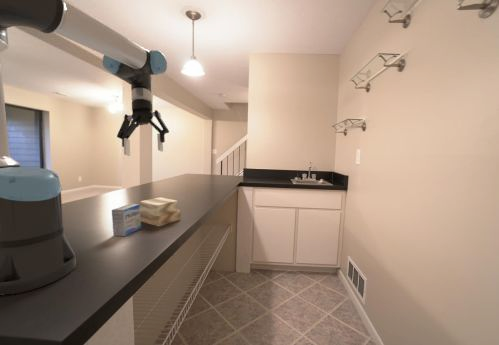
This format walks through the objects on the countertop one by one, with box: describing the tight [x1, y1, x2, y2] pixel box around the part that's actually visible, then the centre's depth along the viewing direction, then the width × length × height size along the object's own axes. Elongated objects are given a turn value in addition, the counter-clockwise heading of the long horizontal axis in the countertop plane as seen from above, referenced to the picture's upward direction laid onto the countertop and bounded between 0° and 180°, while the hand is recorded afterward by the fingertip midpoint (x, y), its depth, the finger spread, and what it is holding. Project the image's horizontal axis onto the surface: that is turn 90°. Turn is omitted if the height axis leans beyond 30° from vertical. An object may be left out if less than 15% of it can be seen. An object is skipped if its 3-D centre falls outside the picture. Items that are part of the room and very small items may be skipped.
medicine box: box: [111, 203, 142, 237], centre depth 77 cm, size 8×4×9 cm, turn 168°
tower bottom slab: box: [140, 209, 181, 227], centre depth 90 cm, size 10×12×4 cm
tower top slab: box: [139, 197, 179, 216], centre depth 90 cm, size 9×11×4 cm
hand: (143, 152), depth 91 cm, fingers open, 13 cm apart
